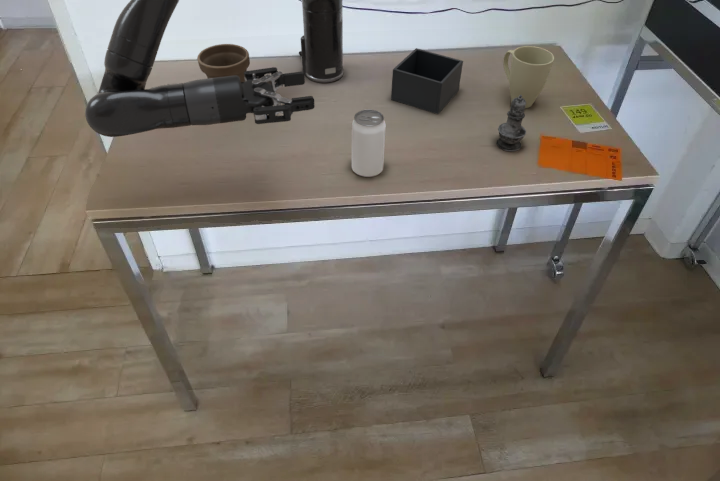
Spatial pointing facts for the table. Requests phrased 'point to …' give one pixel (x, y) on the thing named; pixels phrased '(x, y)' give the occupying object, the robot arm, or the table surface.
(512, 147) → the grey chess piece
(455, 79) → the waste bin
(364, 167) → the can
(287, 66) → the table surface
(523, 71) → the mug
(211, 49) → the flower pot
